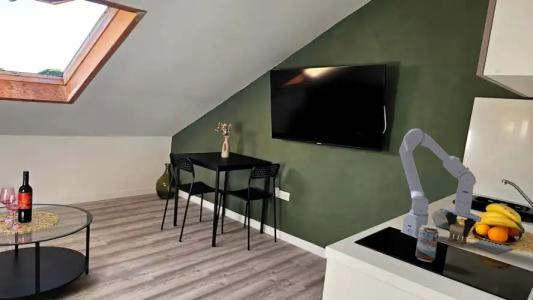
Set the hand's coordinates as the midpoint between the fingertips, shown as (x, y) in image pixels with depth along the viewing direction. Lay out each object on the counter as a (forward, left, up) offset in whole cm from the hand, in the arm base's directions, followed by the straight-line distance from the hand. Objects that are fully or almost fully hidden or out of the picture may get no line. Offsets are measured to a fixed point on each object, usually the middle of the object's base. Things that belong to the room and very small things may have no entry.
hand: (458, 234), depth 143 cm
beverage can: (-30, -5, -3) cm, 31 cm away
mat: (+8, -9, -3) cm, 12 cm away
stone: (+12, +13, -3) cm, 18 cm away
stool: (0, 0, -3) cm, 3 cm away
